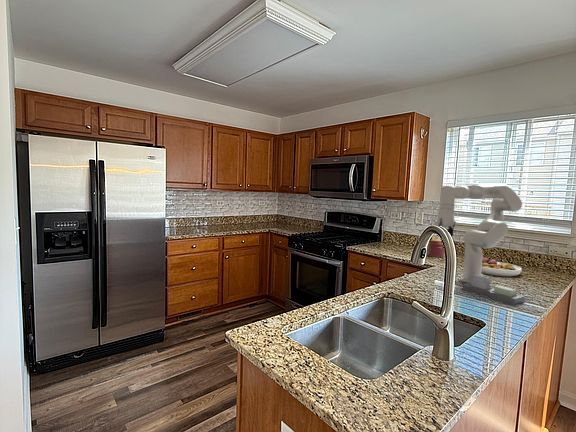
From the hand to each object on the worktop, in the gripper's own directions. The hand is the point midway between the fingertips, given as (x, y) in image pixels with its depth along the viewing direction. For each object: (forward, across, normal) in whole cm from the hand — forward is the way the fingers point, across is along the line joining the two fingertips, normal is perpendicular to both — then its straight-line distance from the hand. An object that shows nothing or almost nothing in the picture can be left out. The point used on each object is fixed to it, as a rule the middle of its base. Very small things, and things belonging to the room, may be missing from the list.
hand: (444, 236), depth 184 cm
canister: (+28, -73, -56) cm, 96 cm away
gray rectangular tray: (+28, -4, +26) cm, 39 cm away
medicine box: (+29, -4, +20) cm, 35 cm away
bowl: (+29, -64, -3) cm, 70 cm away
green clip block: (+28, -4, +32) cm, 43 cm away
